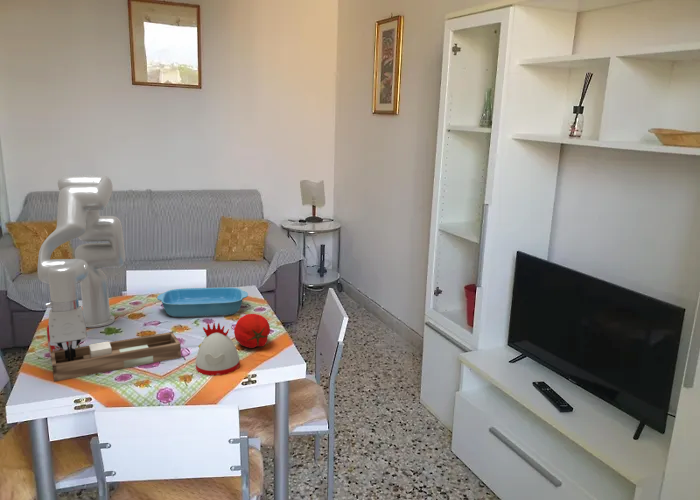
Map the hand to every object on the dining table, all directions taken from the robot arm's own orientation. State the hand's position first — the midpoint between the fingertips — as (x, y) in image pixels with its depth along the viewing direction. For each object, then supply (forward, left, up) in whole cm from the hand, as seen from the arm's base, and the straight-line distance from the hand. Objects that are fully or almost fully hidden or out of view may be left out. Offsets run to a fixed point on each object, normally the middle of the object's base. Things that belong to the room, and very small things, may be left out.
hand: (70, 359), depth 173 cm
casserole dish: (-38, +53, -4) cm, 65 cm away
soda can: (-14, -2, -4) cm, 15 cm away
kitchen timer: (+18, +42, -4) cm, 46 cm away
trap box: (0, +14, -4) cm, 14 cm away
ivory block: (0, +9, -1) cm, 9 cm away
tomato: (+7, +58, -4) cm, 58 cm away
